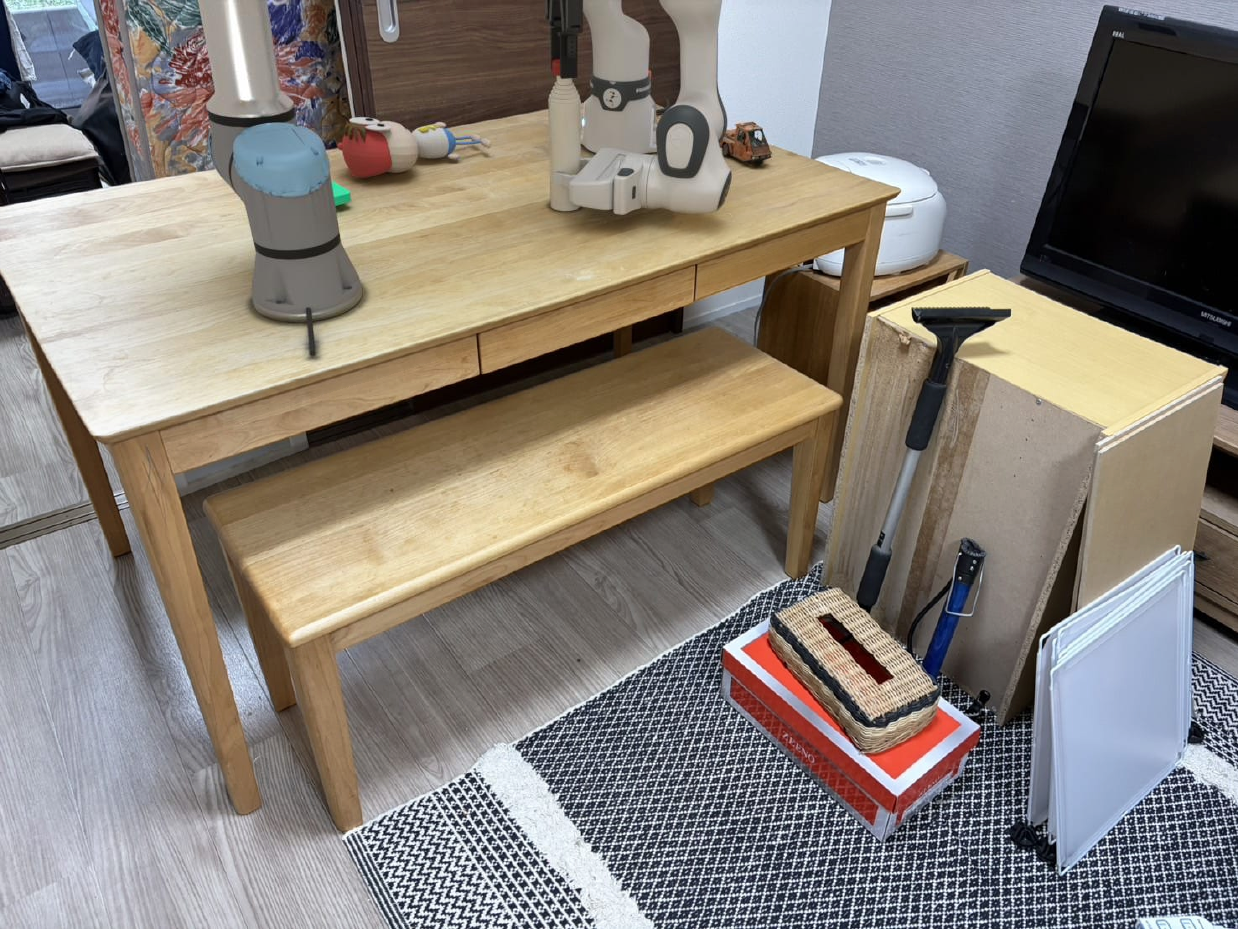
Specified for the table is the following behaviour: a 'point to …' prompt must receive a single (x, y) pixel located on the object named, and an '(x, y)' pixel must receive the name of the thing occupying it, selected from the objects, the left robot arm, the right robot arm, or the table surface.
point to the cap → (556, 67)
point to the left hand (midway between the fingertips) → (564, 73)
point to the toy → (395, 145)
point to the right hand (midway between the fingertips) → (560, 170)
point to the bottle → (564, 139)
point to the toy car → (746, 144)
